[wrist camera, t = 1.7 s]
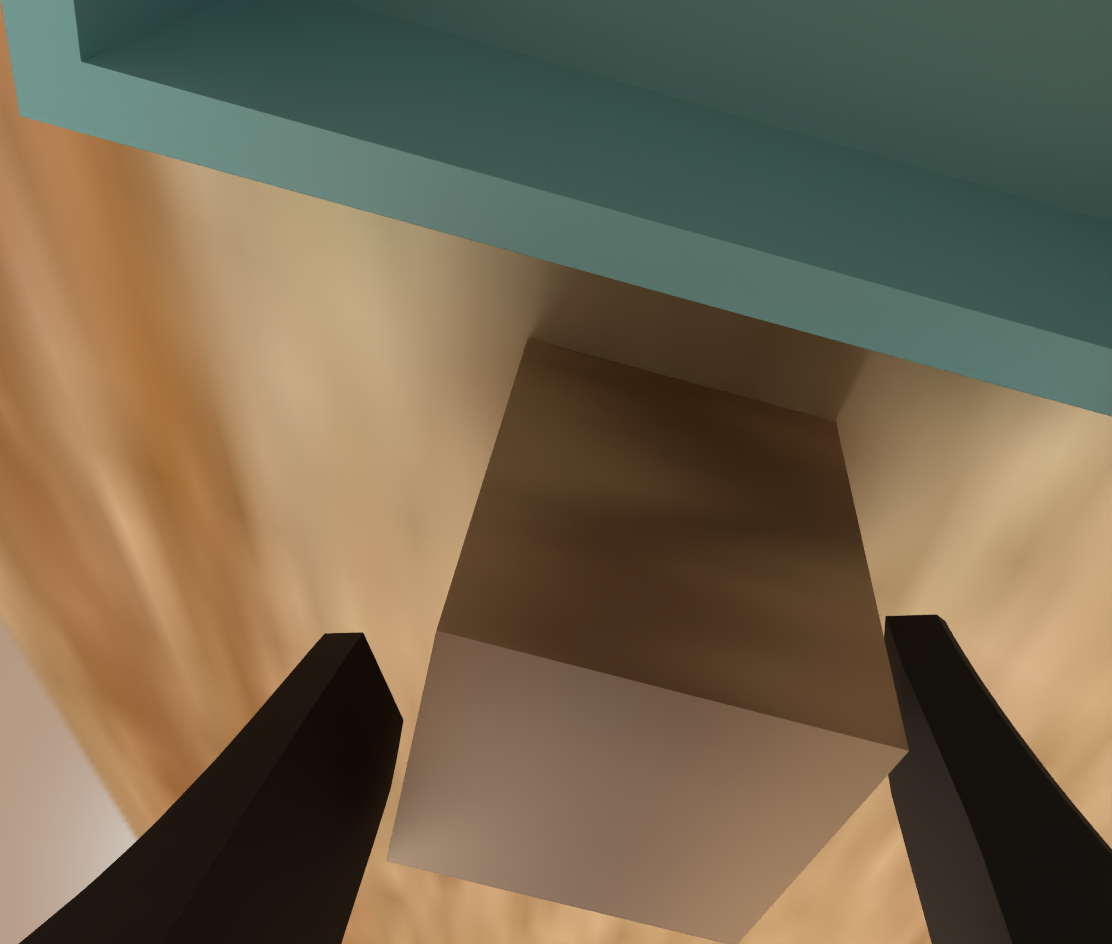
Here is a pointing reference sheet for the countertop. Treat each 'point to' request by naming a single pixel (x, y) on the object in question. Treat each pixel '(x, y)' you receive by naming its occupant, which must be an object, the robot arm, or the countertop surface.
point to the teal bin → (666, 146)
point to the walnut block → (650, 656)
